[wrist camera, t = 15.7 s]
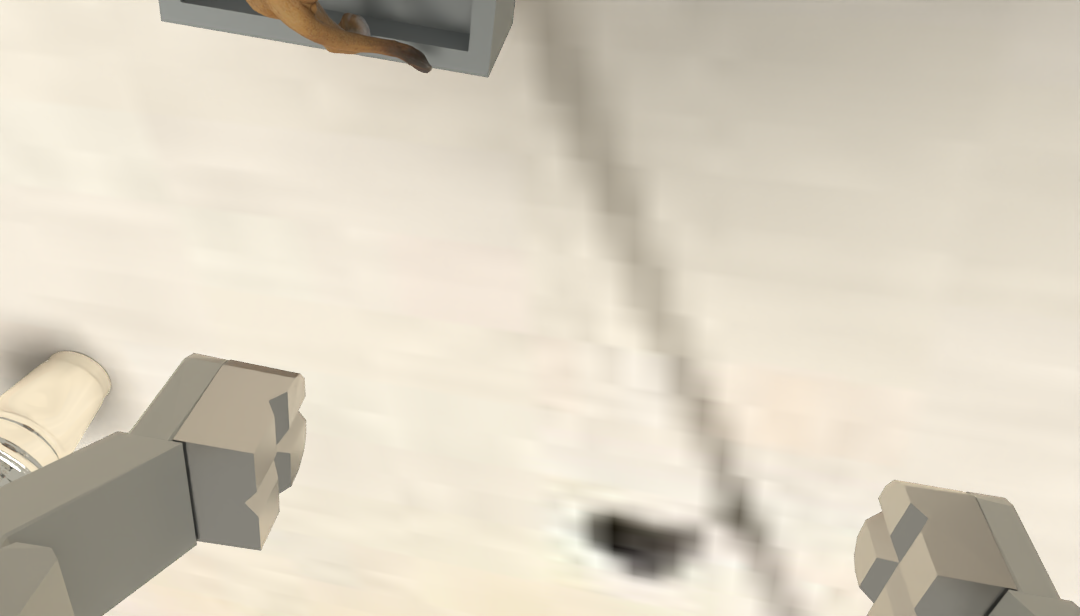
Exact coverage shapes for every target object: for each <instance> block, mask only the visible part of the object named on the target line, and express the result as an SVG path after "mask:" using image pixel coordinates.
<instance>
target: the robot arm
mask: <svg viewBox="0 0 1080 616" xmlns="http://www.w3.org/2000/svg"><path fill="white" fill-rule="evenodd" d="M305 396H306V394H305V378H304V377H303V376H302V375H301V374H299V373H294V372H289V371H284V370H279V369H274V368H269V367H264V366H259V365H254V364H249V363H244V362H239V361H234V360H225V359H220V358H216V357H211V356H206V355H201V354H196V353H193V354H192V355H190V356H188V357H186V358H185V359H184V360H183V361H182V362H181V364H180V365H179V366H178V368H177V369H176V370H175V372H174V373H173V374H172V376H171V377H170V378H169V380H168V381H167V382H166V384H165V385H164V386H163V388H162V389H161V390H160V392H159V393H158V394H157V396H156V397H155V399H154V400H153V401H152V403H151V404H150V405H149V407H148V408H147V409H146V411H145V412H144V413H143V415H142V416H141V417H140V419H139V420H138V421H137V423H136V424H135V425H134V427H133V428H132V429H131V431H130V432H129V433H124V432H115V433H113V434H111V435H109V436H107V437H105V438H103V439H101V440H99V441H96V442H94V443H92V444H90V445H88V446H86V447H84V448H82V449H80V450H77V451H75V452H73V453H71V454H69V455H67V456H65V457H63V458H61V459H58V460H56V461H54V462H52V463H50V464H48V465H46V466H44V467H42V468H39V469H37V470H35V471H33V472H31V473H29V474H27V475H25V476H23V477H20V478H18V479H16V480H14V481H12V482H10V483H8V484H6V485H4V486H1V487H0V616H103V615H104V614H105V613H107V612H108V611H109V610H110V609H112V608H113V607H114V606H116V605H117V604H118V603H120V602H121V601H122V600H124V599H125V598H126V597H128V596H129V595H130V594H132V593H133V592H134V591H136V590H137V589H138V588H140V587H141V586H142V585H144V584H145V583H146V582H148V581H149V580H150V579H152V578H153V577H154V576H156V575H157V574H158V573H160V572H161V571H162V570H164V569H165V568H166V567H168V566H169V565H170V564H172V563H173V562H174V561H176V560H177V559H178V558H180V557H181V556H182V555H184V554H185V553H186V552H188V551H189V550H190V549H192V548H193V547H194V546H196V545H197V541H201V542H207V543H214V544H221V545H227V546H234V547H241V548H247V549H254V550H262V547H263V545H264V543H265V541H266V539H267V537H268V535H269V533H270V531H271V528H272V526H273V524H274V522H275V520H276V518H277V516H278V514H279V512H280V510H279V493H281V492H283V491H284V490H286V489H287V488H289V487H291V486H292V483H293V481H294V479H295V477H296V474H297V472H298V470H299V467H300V463H301V459H302V456H303V452H304V448H305V440H306V419H305V418H304V417H303V416H302V414H301V413H300V412H299V411H298V410H299V408H300V406H301V404H302V402H303V400H304V398H305ZM878 499H879V502H880V506H881V509H882V512H880V513H878V514H876V515H874V516H872V517H870V518H869V519H867V520H865V522H864V524H863V526H862V528H861V530H860V532H859V534H858V536H857V541H856V547H855V553H854V563H855V573H856V577H857V581H858V585H859V587H860V589H861V590H862V591H863V592H864V593H865V594H866V595H867V596H868V597H869V598H870V599H871V601H872V602H873V603H874V604H873V606H872V607H871V609H870V611H869V612H868V614H867V616H1080V608H1079V607H1078V606H1077V605H1076V604H1075V603H1074V602H1072V601H1068V600H1063V599H1060V597H1059V595H1058V593H1057V591H1056V589H1055V587H1054V585H1053V583H1052V581H1051V579H1050V577H1049V575H1048V573H1047V571H1046V569H1045V567H1044V565H1043V563H1042V561H1041V559H1040V557H1039V555H1038V553H1037V551H1036V549H1035V547H1034V545H1033V543H1032V541H1031V539H1030V537H1029V536H1028V534H1027V532H1026V530H1025V528H1024V526H1023V524H1022V522H1021V520H1020V518H1019V516H1018V514H1017V512H1016V510H1015V508H1014V506H1013V505H1012V504H1011V503H1010V502H1009V501H1008V500H1007V499H1005V498H1003V497H997V496H991V495H984V494H978V493H972V492H963V491H958V490H952V489H946V488H940V487H934V486H928V485H922V484H917V483H911V482H905V481H899V480H893V481H892V482H890V483H889V484H888V485H886V486H885V488H884V490H883V491H882V493H881V495H880V496H879V498H878Z"/></svg>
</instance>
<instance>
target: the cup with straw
mask: <svg viewBox="0 0 1080 616" xmlns="http://www.w3.org/2000/svg"><path fill="white" fill-rule="evenodd" d="M110 389H111V383H110V379H109V376H108V375H107V373H106V371H105V370H104V369H103V368H102V367H101V366H100V365H99V364H98V363H97V362H95V361H94V360H92V359H91V358H89V357H87V356H85V355H83V354H80V353H76V352H72V351H61V352H57V353H55V354H53V355H51V357H50V358H49V359H48V361H46V362H43V363H42V364H40V365H39V366H38V367H36V368H35V369H34V370H32V371H31V372H30V373H29V374H27V375H26V376H25V377H24V378H22V379H21V380H20V381H19V382H17V383H16V384H15V385H14V386H12V387H11V388H10V389H9V390H7V391H6V392H5V393H3V394H2V395H1V396H0V487H1V486H4V485H6V484H8V483H10V482H12V481H14V480H16V479H18V478H20V477H23V476H25V475H27V474H29V473H31V472H33V471H35V470H37V469H39V468H42V467H44V466H46V465H48V464H50V463H52V462H54V461H56V460H58V459H61V458H63V457H65V456H67V455H69V454H71V453H73V451H74V450H75V448H76V447H77V445H78V443H79V442H80V440H81V438H82V437H83V435H84V433H85V432H86V430H87V428H88V427H89V425H90V423H91V422H92V420H93V419H94V417H95V415H96V414H97V412H98V410H99V409H100V407H101V405H102V403H103V400H104V398H105V397H106V396H107V395H108V394H109V392H110Z"/></svg>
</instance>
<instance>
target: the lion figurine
mask: <svg viewBox="0 0 1080 616" xmlns="http://www.w3.org/2000/svg"><path fill="white" fill-rule="evenodd" d="M246 1H247V3H248V4H249V5H250V6H251V8H252V9H253V10H255V11H256V12H258V13H260V14H262V15H264V16H266V17H269V18H273V19H279V20H281V21H282V22H283V23H284V24H285V25H287V26H288V27H289V28H291V29H292V30H294V31H295V32H297V33H298V34H300V35H301V36H303V37H305V38H307V39H309V40H311V41H313V42H315V43H318V44H321V45H323V46H324V47H325V48H326V49H327V50H328V51H329V52H333V53H344V54H357V53H360V52H361V53H377V54H382V55H387V56H391V57H397V58H399V59H401V60H403V61H405V62H406V63H408V64H409V65H411V66H413V67H414V68H415V69H417V70H418V71H421V72H423V73H428V72H429V71H431V69H432V66H431V65H430V64H429V62H428V61H427V59H426V57H425V55H424V54H423V53H422V52H421V51H420V50H418V49H416V48H414V47H413V46H410V45H408V44H404V43H400V42H397V41H395V40H389V39H381V38H376V37H370V30H369V26H368V24H367V23H366V21H365V19H364V18H363V17H362V16H360V15H356V14H352V13H346V14H344V15H343V16H342V19H341V21H340V23H339V24H337V23H336V22H334V21H333V20H332V19H331V18H330V17H329V16H328V14H327V13H326V12H325V10H324V9H323V8H322V6H321V5H320V3H319V2H318V0H246Z"/></svg>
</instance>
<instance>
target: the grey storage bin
mask: <svg viewBox="0 0 1080 616" xmlns="http://www.w3.org/2000/svg"><path fill="white" fill-rule="evenodd" d="M318 2H319V3H320V5H321V6H322V8H323V9H324V10H325V12H326V13H327V14H328V16H329V17H330V18H331V19H332V20H333V21H334V22H336V23H337V24H339V23H340V21H341V19H342V16H343V15H344V14H346V13H352V14H356V15H360V16H362V17H363V18H364V19H365V21H366V23H367V24H368V26H369V30H370V37H376V38H381V39H389V40H395V41H397V42H400V43H404V44H408V45H410V46H413V47H414V48H416V49H418V50H420V51H421V52H422V53H423V54H424V55H425V57H426V59H427V61H428V62H429V64H430V65H431V66H432V68H437V69H442V70H448V71H454V72H460V73H466V74H471V75H477V76H483V77H489V74H490V72H491V70H492V68H493V66H494V63H495V61H496V59H497V57H498V54H499V52H500V50H501V48H502V46H503V43H504V41H505V39H506V37H507V35H508V32H509V30H510V28H511V26H512V23H513V15H514V7H515V0H318ZM159 6H160V14H161V21H164V22H170V23H176V24H182V25H187V26H193V27H199V28H205V29H211V30H216V31H222V32H228V33H234V34H240V35H245V36H251V37H257V38H263V39H269V40H274V41H280V42H286V43H292V44H297V45H303V46H309V47H315V48H321V49H326V48H325V47H324V46H323V45H321V44H318V43H315V42H313V41H311V40H309V39H307V38H305V37H303V36H301V35H300V34H298V33H297V32H295V31H294V30H292V29H291V28H289V27H288V26H287V25H285V24H284V23H283V22H282V21H281V20H279V19H273V18H269V17H266V16H264V15H262V14H260V13H258V12H256V11H255V10H253V9H252V8H251V6H250V5H249V4H248V3H247V1H246V0H159ZM326 50H327V49H326ZM355 55H361V56H367V57H373V58H379V59H384V60H390V61H396V62H402V63H406V62H405V61H403V60H401V59H399V58H397V57H391V56H387V55H382V54H377V53H361V52H360V53H357V54H355Z"/></svg>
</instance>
